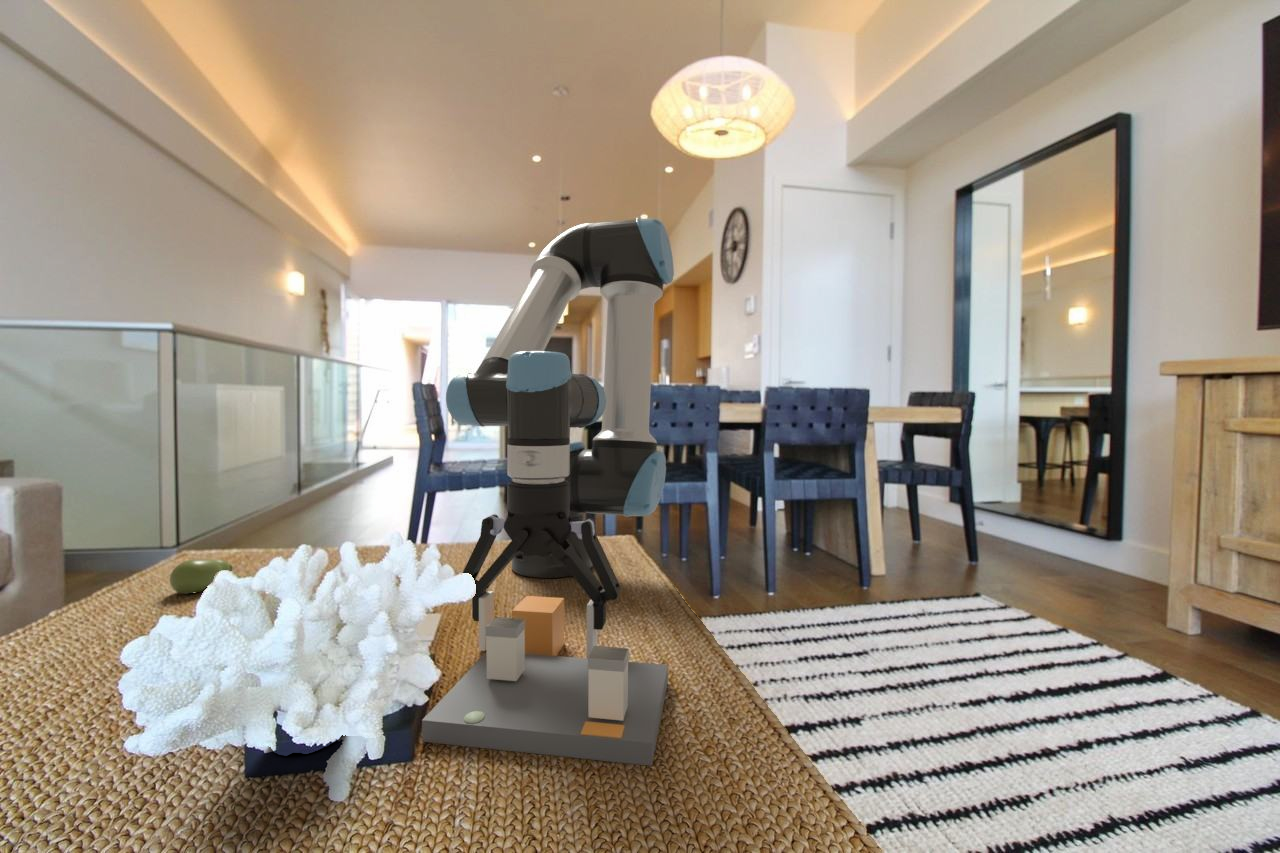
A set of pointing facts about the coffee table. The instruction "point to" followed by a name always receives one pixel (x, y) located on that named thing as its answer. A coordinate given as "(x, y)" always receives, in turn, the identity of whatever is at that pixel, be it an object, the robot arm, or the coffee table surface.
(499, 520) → the robot arm
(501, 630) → the block
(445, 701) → the plate
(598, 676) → the block
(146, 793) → the coffee table surface
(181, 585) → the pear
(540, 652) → the block
